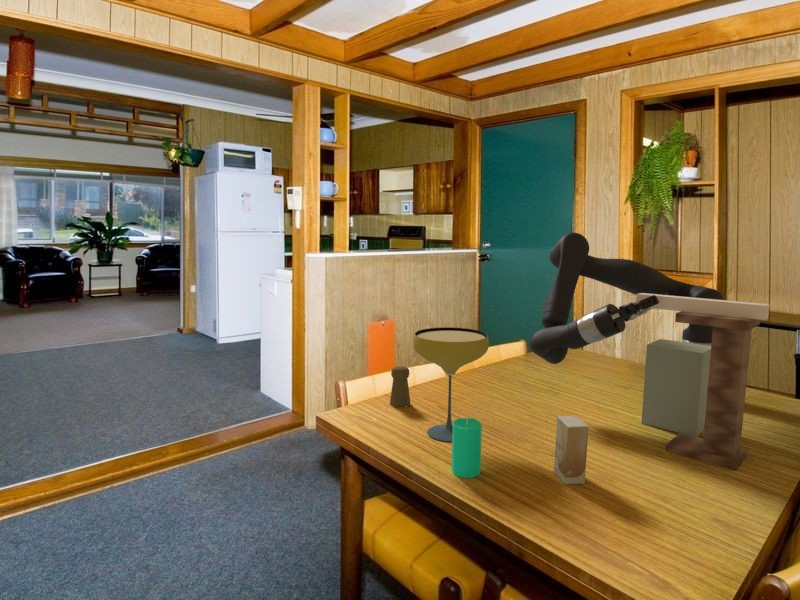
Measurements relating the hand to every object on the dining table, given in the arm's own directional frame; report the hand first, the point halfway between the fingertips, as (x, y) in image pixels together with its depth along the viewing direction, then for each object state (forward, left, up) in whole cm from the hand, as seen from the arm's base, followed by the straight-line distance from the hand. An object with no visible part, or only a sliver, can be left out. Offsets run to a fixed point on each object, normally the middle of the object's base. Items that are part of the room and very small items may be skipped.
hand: (662, 297), depth 125 cm
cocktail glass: (+17, -46, -35) cm, 60 cm away
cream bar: (+3, +7, -3) cm, 8 cm away
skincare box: (+29, -16, -35) cm, 48 cm away
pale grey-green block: (-13, +5, -35) cm, 37 cm away
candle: (+35, -36, -35) cm, 61 cm away
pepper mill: (+2, -66, -35) cm, 74 cm away
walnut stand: (+4, +11, -35) cm, 37 cm away
